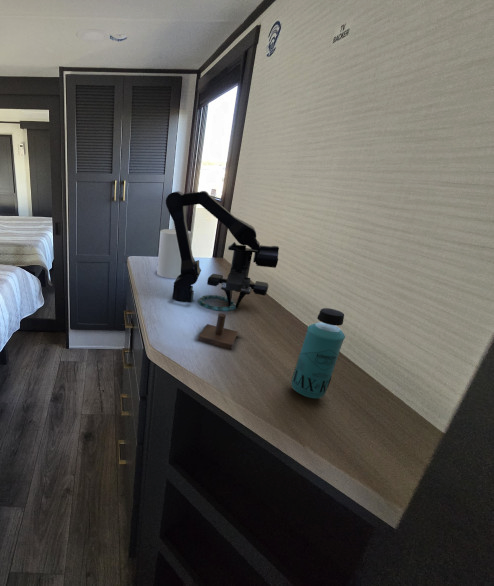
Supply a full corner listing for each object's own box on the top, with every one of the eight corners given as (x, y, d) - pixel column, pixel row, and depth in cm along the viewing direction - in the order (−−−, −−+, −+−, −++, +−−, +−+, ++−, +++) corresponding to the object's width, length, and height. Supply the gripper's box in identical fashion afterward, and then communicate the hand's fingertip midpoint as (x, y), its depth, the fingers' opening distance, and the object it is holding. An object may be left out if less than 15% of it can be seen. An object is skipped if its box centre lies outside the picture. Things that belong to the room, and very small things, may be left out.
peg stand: (198, 340, 89) (201, 316, 86) (206, 328, 96) (209, 305, 93) (231, 349, 84) (235, 324, 82) (237, 336, 92) (241, 312, 89)
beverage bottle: (282, 385, 70) (304, 304, 63) (309, 384, 71) (335, 304, 64) (301, 406, 64) (328, 318, 57) (331, 404, 65) (362, 317, 58)
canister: (151, 271, 150) (154, 229, 143) (174, 268, 155) (179, 228, 148) (167, 280, 138) (171, 235, 131) (192, 276, 144) (197, 233, 136)
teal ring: (193, 308, 110) (194, 302, 109) (203, 296, 120) (203, 291, 120) (231, 316, 104) (232, 311, 103) (238, 304, 114) (239, 299, 113)
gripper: (206, 265, 102) (199, 308, 107) (269, 275, 92) (259, 322, 98) (214, 257, 110) (208, 298, 116) (272, 266, 101) (263, 310, 107)
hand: (232, 306), depth 109 cm, fingers closed on teal ring, 2 cm apart
